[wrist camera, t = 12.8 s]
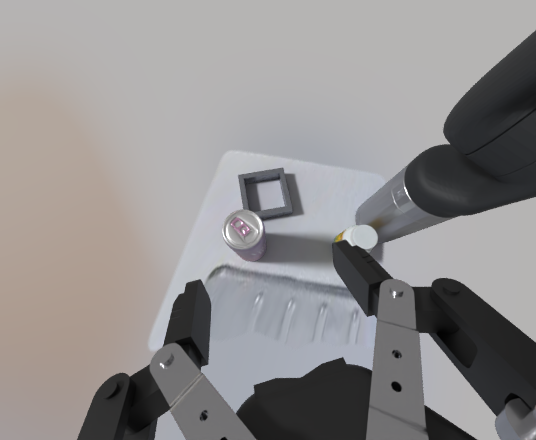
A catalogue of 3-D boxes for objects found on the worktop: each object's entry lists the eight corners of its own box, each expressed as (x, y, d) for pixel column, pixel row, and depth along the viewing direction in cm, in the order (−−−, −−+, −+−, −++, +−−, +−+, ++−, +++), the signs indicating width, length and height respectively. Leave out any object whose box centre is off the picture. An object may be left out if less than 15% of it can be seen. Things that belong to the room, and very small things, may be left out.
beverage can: (251, 226, 46) (243, 199, 31) (272, 246, 44) (273, 228, 30) (230, 247, 44) (211, 229, 30) (251, 268, 43) (242, 260, 29)
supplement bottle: (342, 265, 43) (362, 260, 34) (326, 242, 44) (341, 231, 35) (364, 250, 44) (389, 242, 35) (347, 228, 45) (367, 214, 36)
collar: (282, 173, 49) (283, 167, 46) (291, 213, 46) (292, 210, 44) (239, 180, 48) (238, 175, 46) (246, 221, 46) (244, 218, 43)
